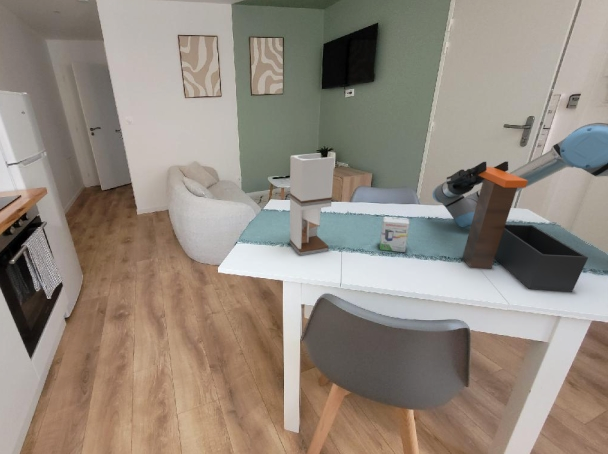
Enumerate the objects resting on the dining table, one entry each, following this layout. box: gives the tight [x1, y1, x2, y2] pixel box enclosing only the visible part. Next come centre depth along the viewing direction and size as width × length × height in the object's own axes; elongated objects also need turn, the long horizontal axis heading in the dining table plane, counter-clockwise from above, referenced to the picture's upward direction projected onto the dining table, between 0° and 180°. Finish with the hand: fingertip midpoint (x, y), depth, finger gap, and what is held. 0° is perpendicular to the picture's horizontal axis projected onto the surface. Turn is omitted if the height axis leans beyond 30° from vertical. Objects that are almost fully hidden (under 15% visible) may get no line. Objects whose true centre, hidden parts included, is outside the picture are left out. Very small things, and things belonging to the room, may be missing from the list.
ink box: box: [379, 216, 411, 253], centre depth 107 cm, size 9×5×12 cm, turn 68°
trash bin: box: [494, 223, 589, 293], centre depth 90 cm, size 22×10×11 cm, turn 167°
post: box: [461, 179, 517, 269], centre depth 91 cm, size 6×6×28 cm
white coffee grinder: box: [289, 152, 335, 256], centre depth 107 cm, size 11×11×35 cm
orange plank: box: [478, 166, 528, 189], centre depth 87 cm, size 18×5×2 cm, turn 167°
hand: (495, 165), depth 88 cm, fingers closed on orange plank, 5 cm apart
